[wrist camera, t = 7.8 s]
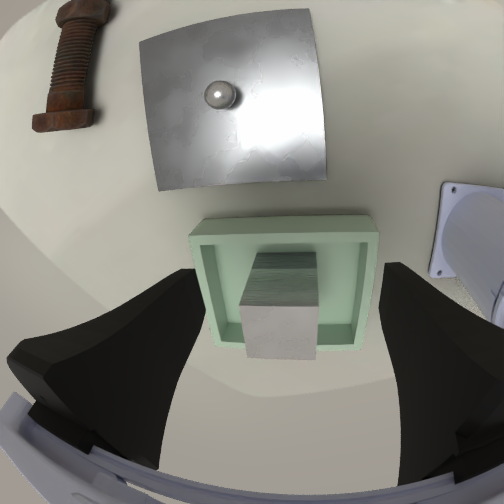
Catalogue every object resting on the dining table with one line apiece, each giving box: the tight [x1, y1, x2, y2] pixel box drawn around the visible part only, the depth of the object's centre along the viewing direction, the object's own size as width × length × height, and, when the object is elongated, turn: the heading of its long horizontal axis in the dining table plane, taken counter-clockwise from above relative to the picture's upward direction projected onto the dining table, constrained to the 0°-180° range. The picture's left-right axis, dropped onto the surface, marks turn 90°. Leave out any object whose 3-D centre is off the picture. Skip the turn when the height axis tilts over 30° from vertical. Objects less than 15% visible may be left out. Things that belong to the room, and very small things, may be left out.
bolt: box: [32, 0, 110, 133], centre depth 13 cm, size 6×5×15 cm
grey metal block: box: [239, 252, 319, 360], centre depth 18 cm, size 4×4×6 cm
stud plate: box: [139, 9, 327, 191], centre depth 15 cm, size 12×12×3 cm
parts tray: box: [188, 215, 380, 351], centre depth 21 cm, size 12×10×3 cm
